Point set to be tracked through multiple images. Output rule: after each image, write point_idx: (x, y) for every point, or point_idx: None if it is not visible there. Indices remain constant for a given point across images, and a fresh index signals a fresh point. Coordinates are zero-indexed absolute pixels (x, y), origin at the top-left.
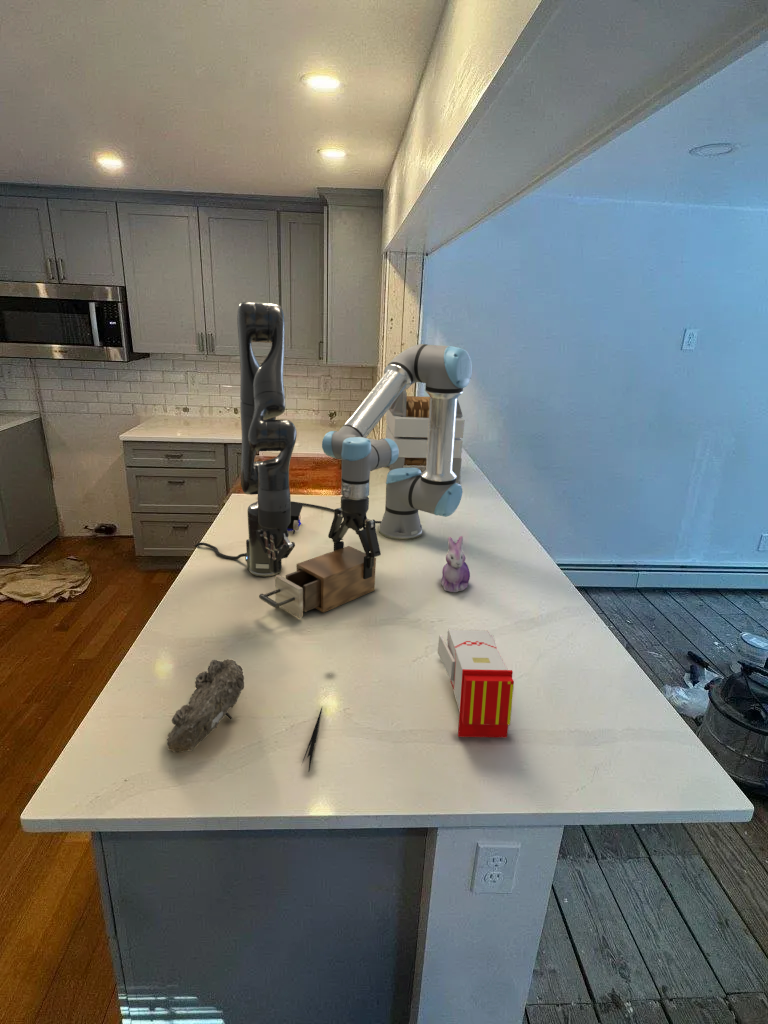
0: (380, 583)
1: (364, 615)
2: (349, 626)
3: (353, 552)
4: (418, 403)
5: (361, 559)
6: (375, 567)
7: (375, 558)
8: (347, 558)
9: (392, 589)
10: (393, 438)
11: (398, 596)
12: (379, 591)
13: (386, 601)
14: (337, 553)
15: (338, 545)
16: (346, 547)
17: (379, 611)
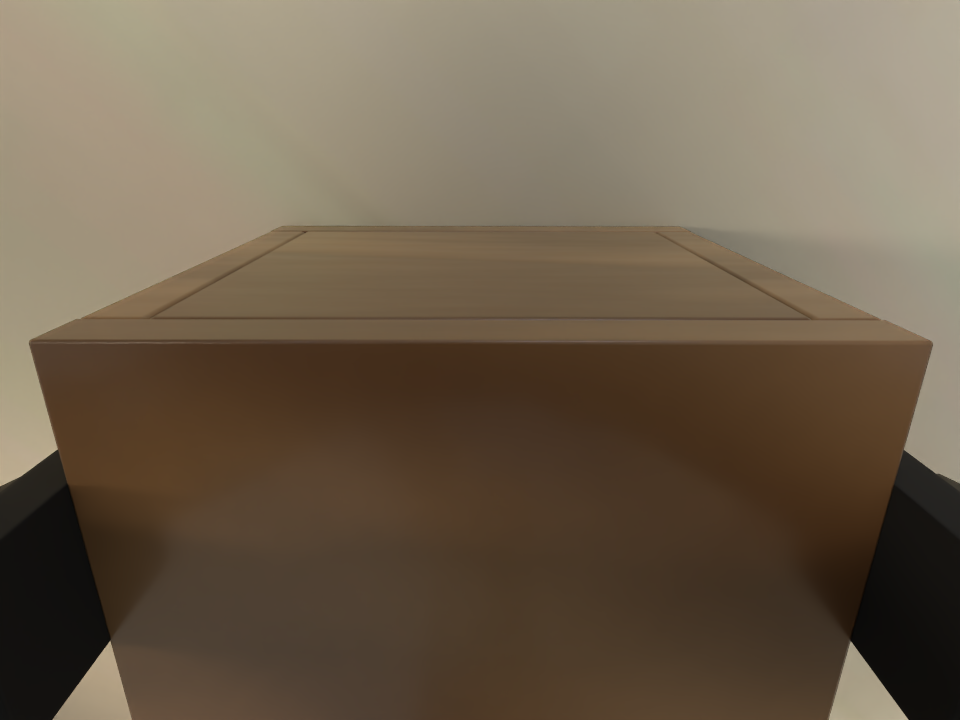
0: (621, 50)
1: None
2: (865, 705)
3: (390, 494)
4: None
5: (734, 588)
6: (811, 288)
7: (928, 357)
8: (524, 714)
9: (812, 53)
10: None
11: (948, 128)
12: (728, 201)
13: (897, 296)
14: (251, 704)
15: (44, 671)
16: (88, 435)
17: (935, 455)
